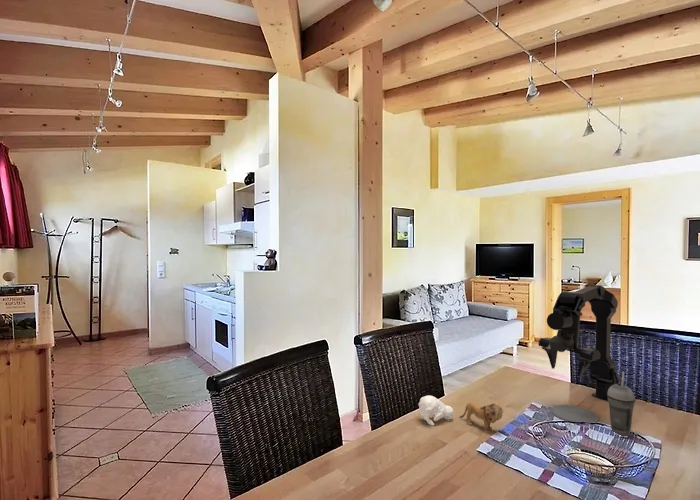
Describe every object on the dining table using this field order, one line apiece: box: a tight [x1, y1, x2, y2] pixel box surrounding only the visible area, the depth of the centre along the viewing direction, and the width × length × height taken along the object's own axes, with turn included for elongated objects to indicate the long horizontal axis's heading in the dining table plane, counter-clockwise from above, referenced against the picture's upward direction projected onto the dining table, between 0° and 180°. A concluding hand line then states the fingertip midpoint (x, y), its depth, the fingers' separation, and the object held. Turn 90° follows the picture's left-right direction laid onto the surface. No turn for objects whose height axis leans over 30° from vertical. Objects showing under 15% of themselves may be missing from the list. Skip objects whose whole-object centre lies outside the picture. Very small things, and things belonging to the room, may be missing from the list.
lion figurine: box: [459, 401, 504, 434], centre depth 122 cm, size 15×5×9 cm, turn 44°
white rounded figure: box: [418, 395, 454, 427], centre depth 126 cm, size 6×8×12 cm
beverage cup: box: [607, 370, 636, 437], centre depth 118 cm, size 7×7×20 cm
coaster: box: [550, 404, 599, 423], centre depth 131 cm, size 14×14×1 cm
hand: (565, 372), depth 133 cm, fingers open, 9 cm apart
